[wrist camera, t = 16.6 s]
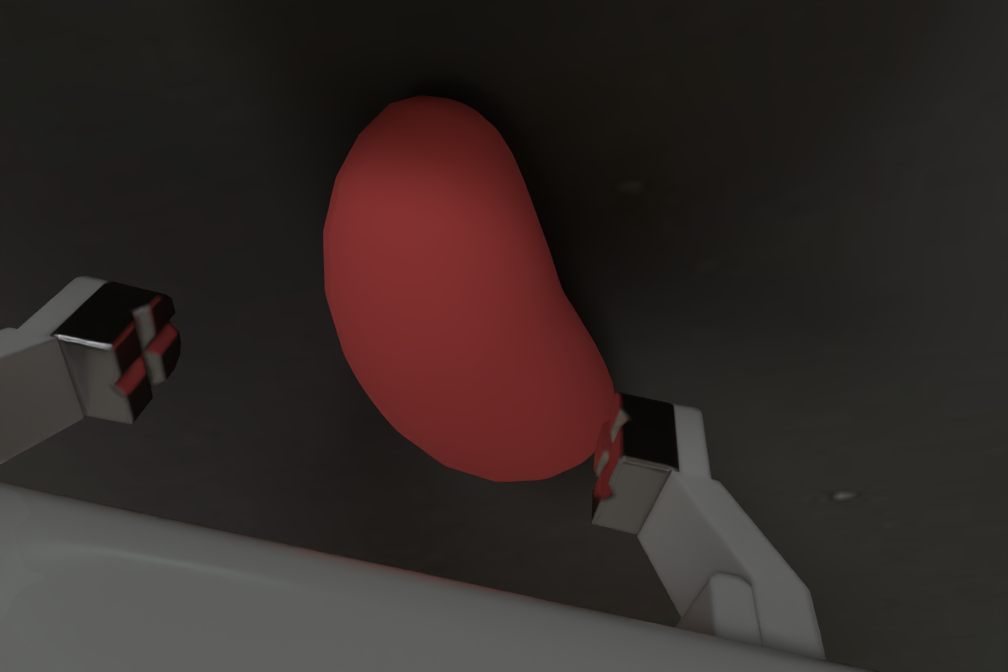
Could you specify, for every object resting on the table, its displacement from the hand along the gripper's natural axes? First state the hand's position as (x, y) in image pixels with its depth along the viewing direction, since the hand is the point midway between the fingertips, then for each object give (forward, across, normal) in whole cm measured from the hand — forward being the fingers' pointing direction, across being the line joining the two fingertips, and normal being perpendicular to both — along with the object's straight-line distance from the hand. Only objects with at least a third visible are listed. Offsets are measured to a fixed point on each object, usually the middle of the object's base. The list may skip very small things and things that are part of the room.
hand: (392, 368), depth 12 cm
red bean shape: (+5, -1, +1) cm, 5 cm away
